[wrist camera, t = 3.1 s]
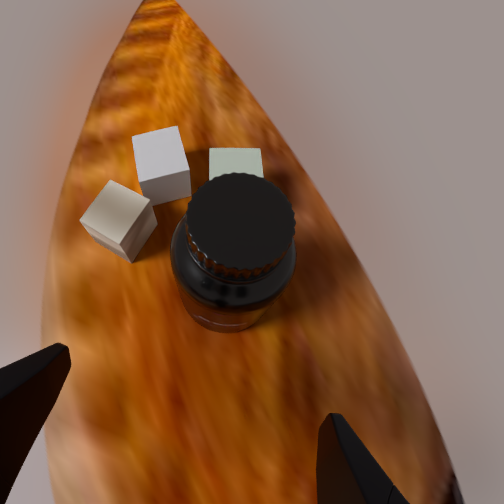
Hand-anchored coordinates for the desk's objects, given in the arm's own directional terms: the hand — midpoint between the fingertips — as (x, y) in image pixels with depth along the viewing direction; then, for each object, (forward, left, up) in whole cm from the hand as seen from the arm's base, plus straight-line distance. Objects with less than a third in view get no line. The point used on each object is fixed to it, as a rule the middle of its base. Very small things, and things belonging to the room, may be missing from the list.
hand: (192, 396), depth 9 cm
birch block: (+9, +10, -13) cm, 19 cm away
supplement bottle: (+7, +1, -14) cm, 15 cm away
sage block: (+15, +3, -13) cm, 20 cm away
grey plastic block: (+15, +9, -13) cm, 22 cm away
